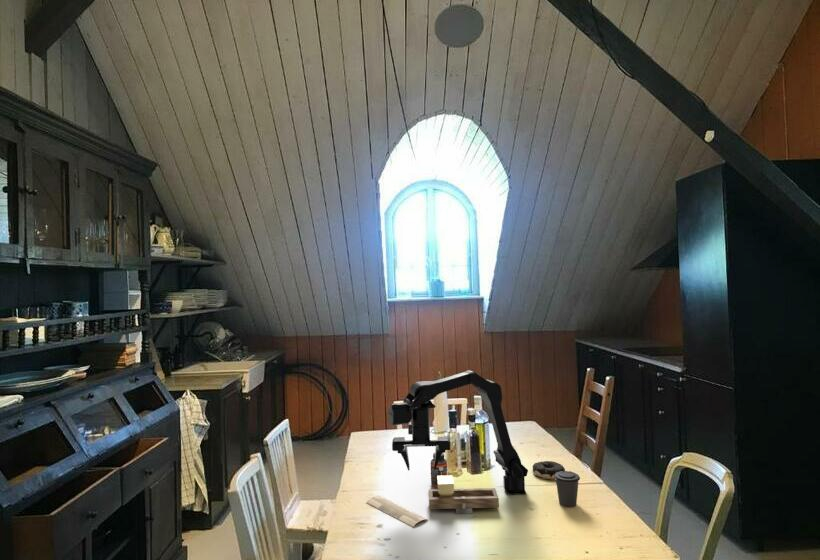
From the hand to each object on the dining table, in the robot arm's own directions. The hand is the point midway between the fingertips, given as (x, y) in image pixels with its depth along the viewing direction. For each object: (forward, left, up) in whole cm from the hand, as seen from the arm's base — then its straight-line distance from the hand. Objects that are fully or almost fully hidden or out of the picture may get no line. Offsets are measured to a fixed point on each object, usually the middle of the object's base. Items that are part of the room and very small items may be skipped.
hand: (421, 469), depth 165 cm
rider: (-8, 0, -9) cm, 12 cm away
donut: (-47, -26, -13) cm, 55 cm away
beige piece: (+9, +3, -13) cm, 16 cm away
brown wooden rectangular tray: (-13, 0, -12) cm, 18 cm away
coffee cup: (-47, -1, -13) cm, 49 cm away
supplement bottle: (-6, -18, -13) cm, 22 cm away
